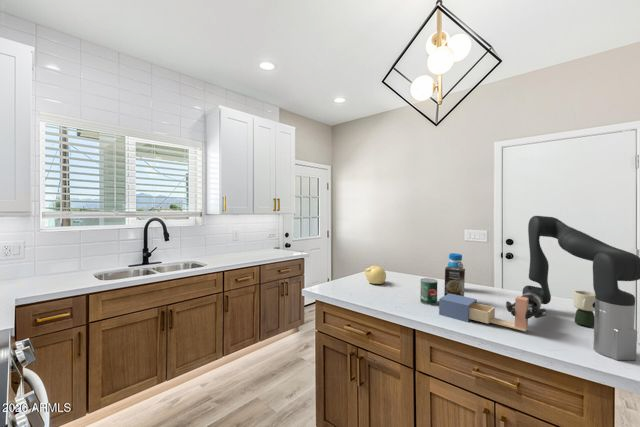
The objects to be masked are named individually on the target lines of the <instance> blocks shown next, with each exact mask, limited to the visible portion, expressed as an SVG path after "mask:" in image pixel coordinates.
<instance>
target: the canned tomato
mask: <svg viewBox="0 0 640 427" xmlns="http://www.w3.org/2000/svg"><path fill="white" fill-rule="evenodd" d="M438 282H439V281H438V280H437V279H435V278H427V277H425V278H420V300H419V301H420V303H421V304H424V305H427V306H428V305H430V306H433V305H434V306H436V305H437V304H438Z"/></svg>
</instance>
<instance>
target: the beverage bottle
mask: <svg viewBox="0 0 640 427" xmlns="http://www.w3.org/2000/svg"><path fill="white" fill-rule="evenodd" d="M448 260H449V261H448V263H447V266H446V267H454V268H463V269H464V265H463V263H462V261H463V255H462V254H461V253H453V252H452V253H451V252H450V253H449V255H448Z"/></svg>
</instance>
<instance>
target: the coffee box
mask: <svg viewBox="0 0 640 427" xmlns="http://www.w3.org/2000/svg"><path fill="white" fill-rule="evenodd" d="M465 276H466V268H464V267H463V268H454V267H448V266H445V268H444V290H443V291H444V293H443V294H444V296H445V295H447V294H449V293H450V294H455V295H460V296H464V297H465V280H466V279H465Z"/></svg>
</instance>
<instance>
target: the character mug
mask: <svg viewBox="0 0 640 427" xmlns="http://www.w3.org/2000/svg"><path fill="white" fill-rule="evenodd" d="M573 307H574V308H576V310H575V311H576V312H575V317H574V322H575V323H576V324H580V325H582V326H584V327H585V326H586V327H589V328H590V327H591V328H594V318H595V292H591V291H586V290H575V291H573Z"/></svg>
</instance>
